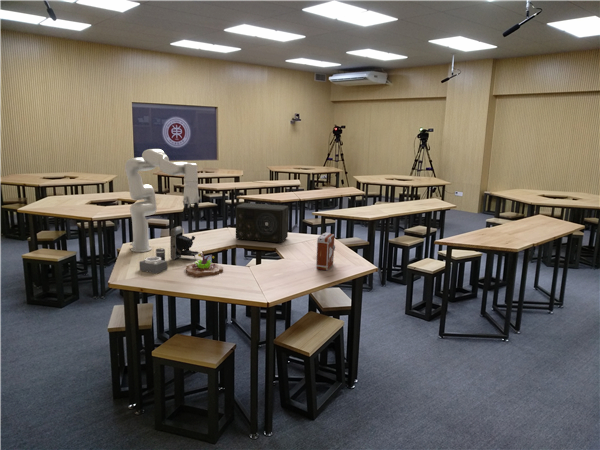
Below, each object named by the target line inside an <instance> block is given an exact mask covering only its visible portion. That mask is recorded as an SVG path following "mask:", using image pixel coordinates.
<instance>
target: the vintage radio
mask: <svg viewBox="0 0 600 450" xmlns="http://www.w3.org/2000/svg"><path fill="white" fill-rule="evenodd" d="M288 226H289V206H288V205H280V204H279V205H277V204H265V203H249V202H243V203H240V204H238V205H236V206H235V239H237V240H239V239H242V240H248V241H258V242H259V241H260V242H271V243H276V244H280V243H283V242H284V241H285V240H286V239H287V238H288V235H289V234H288V231H289V227H288Z"/></svg>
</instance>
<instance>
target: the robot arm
mask: <svg viewBox="0 0 600 450" xmlns="http://www.w3.org/2000/svg"><path fill="white" fill-rule="evenodd" d="M156 168H159V169H160V171H161V172H163V173H165V174H166V175H170V176H182V175H183V176H184V178H183V180H184V188H183V200H182V203H183V207H184V215H191V207H190V206H191V205H192V204H193V212H198V213H199V210H200V209H199V205H200V199H201V197H200V196H199V187H198V186H199V180H198V177H199V176H198V164H197V163H195V162H187V161H176V162H174V161H173V162H172V161H170V158H169V157H168V155H167V154H166V153H165V152H164V150H162V149H160V148H149V149H145V150H144V151H143V152H142V154H141V157H133V158H129V159H127V161H126V162H125V165H124V171H125V174H126V177H127V181H128V183H127V184H128V190H129V195H130V198H131V199H132V201H136V202H134V203H132V204H131V205H130V207H129V211H130V216H131V222H132V223H131V224H132V225H131V226H132V241H131V243H129V245H130V246H131V248H130V249H131V252H134V253H144V252H145V253H146V252H149V251H151V250H152V246H150V243H149V222H148V220H147V218H146V217H147V216H151V215H154V214H156V212H157V209H158V208H157V200H156V192H155V189H154V187H153V186H152V185H150V184H148V183H147V184H146V183H143V178H142V175H141V174H140V173H139V172H144V171H147V172H148V171H151V170H154V169H156ZM142 200H143V201H142ZM137 201H138V202H137Z"/></svg>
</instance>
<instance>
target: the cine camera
mask: <svg viewBox="0 0 600 450" xmlns="http://www.w3.org/2000/svg"><path fill="white" fill-rule="evenodd" d="M335 251H336V245H335V234H334V233H331V232H324V233H322V234H321V235H319V236H317V241H316V258H315V259H316V263H315V264H316V265H315V267H316V270H320V271H328V270H330V268H332V266H333V265H334V258H335V257H334V256H335V255H334V254H335Z"/></svg>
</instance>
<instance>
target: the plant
mask: <svg viewBox="0 0 600 450" xmlns="http://www.w3.org/2000/svg"><path fill="white" fill-rule="evenodd" d="M197 256H198V257H200V258H202V259H199V260H197V261H195V262H194V263H191V264H189V265H187V266H186V267H185V273H186V274H187V275H188V276H192V277H195V278H200V277H201V278H202V277H209V276H216V275H219V274H222V273H224V267H223V266H221V265H219V264H218V263H213V262H211V261H212V260H211V259H209V258H210V257H211V258H212V259H215V256H214V255H212V254H210V255H207V257H205V255H204V253H203V252H200V253H198V254H197Z"/></svg>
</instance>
